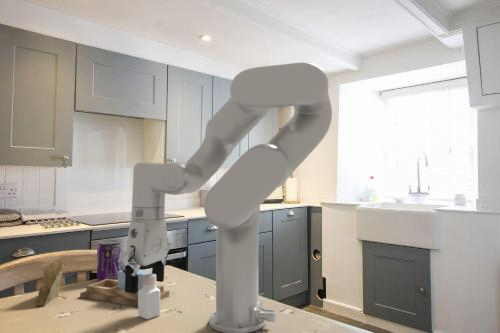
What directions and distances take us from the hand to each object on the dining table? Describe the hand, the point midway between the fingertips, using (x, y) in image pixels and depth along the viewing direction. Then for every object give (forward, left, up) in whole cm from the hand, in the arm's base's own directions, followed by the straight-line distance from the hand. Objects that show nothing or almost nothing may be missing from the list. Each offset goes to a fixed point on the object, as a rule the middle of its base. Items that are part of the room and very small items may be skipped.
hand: (145, 286), depth 86 cm
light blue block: (+10, -9, -6) cm, 15 cm away
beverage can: (+30, -20, -7) cm, 37 cm away
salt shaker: (-1, 0, -7) cm, 7 cm away
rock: (+32, +1, -7) cm, 33 cm away
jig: (+14, -9, -7) cm, 18 cm away
